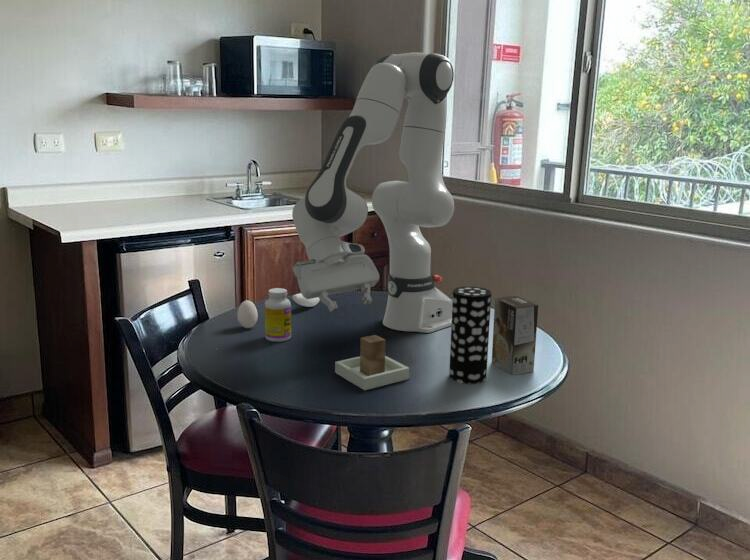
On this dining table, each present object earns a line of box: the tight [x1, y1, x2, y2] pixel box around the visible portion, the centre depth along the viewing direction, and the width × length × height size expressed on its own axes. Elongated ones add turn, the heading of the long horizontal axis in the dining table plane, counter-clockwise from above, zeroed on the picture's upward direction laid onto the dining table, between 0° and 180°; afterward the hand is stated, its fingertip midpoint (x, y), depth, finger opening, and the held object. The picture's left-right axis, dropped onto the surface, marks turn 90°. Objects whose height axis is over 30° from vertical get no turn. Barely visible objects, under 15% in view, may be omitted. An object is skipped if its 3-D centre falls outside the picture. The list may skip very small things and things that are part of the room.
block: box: [359, 334, 386, 376], centre depth 160 cm, size 4×4×8 cm
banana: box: [291, 292, 321, 308], centre depth 213 cm, size 5×19×15 cm, turn 166°
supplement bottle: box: [264, 287, 292, 343], centre depth 184 cm, size 7×7×13 cm
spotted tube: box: [448, 286, 492, 385], centre depth 160 cm, size 8×8×20 cm
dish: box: [334, 355, 411, 391], centre depth 161 cm, size 12×12×3 cm
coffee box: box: [491, 295, 539, 376], centre depth 166 cm, size 9×6×16 cm
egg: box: [236, 299, 259, 329], centre depth 192 cm, size 5×5×8 cm
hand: (351, 306), depth 166 cm, fingers open, 8 cm apart
